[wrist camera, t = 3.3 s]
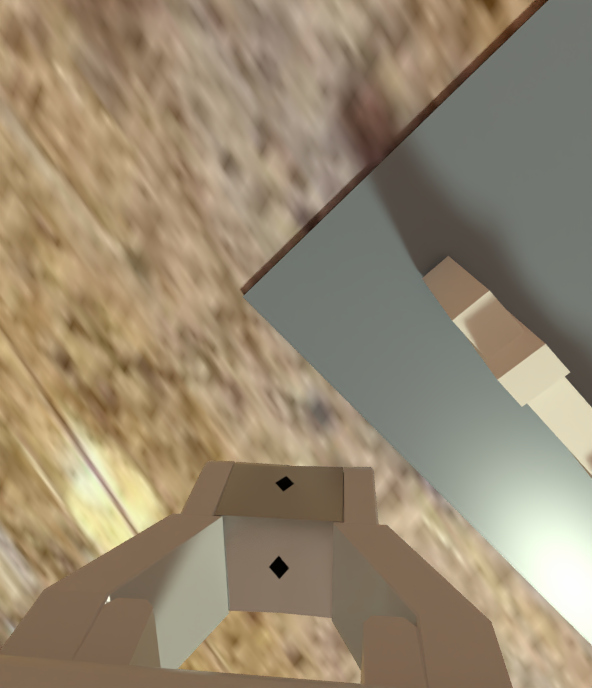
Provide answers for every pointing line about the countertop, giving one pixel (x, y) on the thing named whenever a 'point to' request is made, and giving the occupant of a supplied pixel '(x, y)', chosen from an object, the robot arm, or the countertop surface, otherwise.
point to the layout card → (491, 271)
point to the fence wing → (515, 357)
